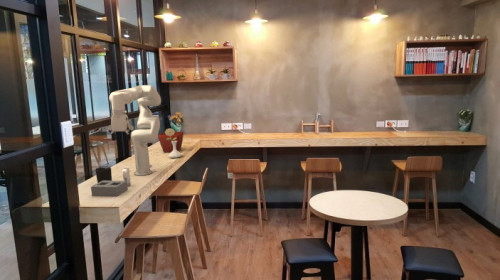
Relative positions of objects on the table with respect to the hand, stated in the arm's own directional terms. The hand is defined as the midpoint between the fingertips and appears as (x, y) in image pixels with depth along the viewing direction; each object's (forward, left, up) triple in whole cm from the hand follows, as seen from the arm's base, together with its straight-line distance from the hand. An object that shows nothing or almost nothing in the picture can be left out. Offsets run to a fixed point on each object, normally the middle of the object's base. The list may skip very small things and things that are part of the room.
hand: (121, 140), depth 211 cm
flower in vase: (-76, +3, -29) cm, 81 cm away
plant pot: (-100, -9, -29) cm, 105 cm away
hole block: (+14, -3, -29) cm, 32 cm away
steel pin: (+1, +1, -29) cm, 29 cm away
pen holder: (-3, -17, -29) cm, 34 cm away
